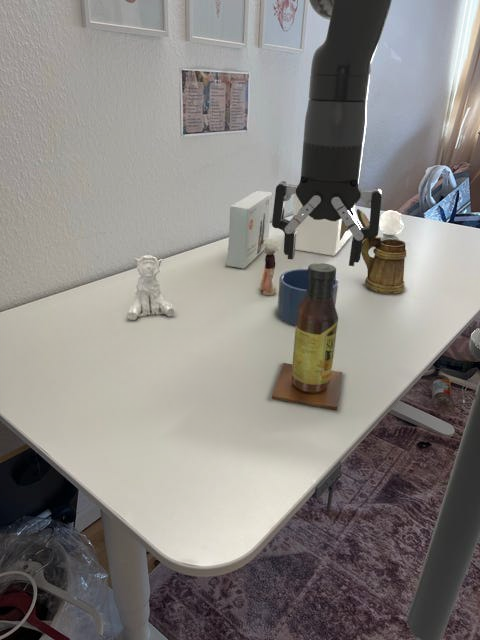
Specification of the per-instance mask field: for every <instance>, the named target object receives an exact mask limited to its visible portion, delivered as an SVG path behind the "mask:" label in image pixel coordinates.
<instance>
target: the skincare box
mask: <svg viewBox="0 0 480 640" xmlns="http://www.w3.org/2000/svg"><path fill="white" fill-rule="evenodd" d="M272 205H273V192H269V191H263V190H255V191H254V192H252V193H250V194H248V195H246V196H244V197H243V198H242V199H240V200H238V201H237V202H235V203H233V204H232V205H230V208H229V226H228V247H227V261H226V266H227V267H233V268H239V269H246V267H247V266H248V265H250V264H251V263H252V262H253V261H254V260H255V259H256V258H257V257H258V256H259V255H260V254H261V253H262V252H263V251H264V248H265V241H266V240H267V239H270V238H269V236H270V226H271V216H272Z"/></svg>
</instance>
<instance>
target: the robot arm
mask: <svg viewBox="0 0 480 640" xmlns="http://www.w3.org/2000/svg"><path fill="white" fill-rule="evenodd" d="M308 1H309V4H310V6H311V7H312V9H313V11H314V12H315V13H317V15H318V16H319V17H321V18H323V19H325V20H328V21H329V24H328V29H327V34H326V37H325V40H324V41H323V43H322V44H321V45H319V46H318V48H316V50H315V51H314V52H313V56H312V61H311V66H310V75H309V76H310V77H309V87H308V88H309V90H308V100H307V107H306V108H307V109H306V113H305V116H304V117H305V119H304V128H303V129H304V130H303V140H302V141H303V143H302V153H301V154H302V155H301V168H300V180H299V183H298V184H299V185H298V184H290V183H287V182H286V181H285V180H282V181H280V182H279V183H278V184H277V186H276V187H275V191H274V192H275V193H274V202H273V208H272V209H273V210H272V218H271V219H272V220H271V226H272V227H273V228H274V229H279V230H281V231H282V232H283V233H284V237H283V238H284V239H283V254H284V255H285V256H287V260H294V258H295V255H296V250H295V245H296V232H297V231H295V229H296V228H297V227H298V226H299V225H300V224H301V223H302V222H303V221H304V219H305V218H306V217H307V216H308V215H309V216H310V217H312V218H313V219H314V220H321V219H327V220H329V221H337V220H340V219H342V220H343V222H344V223H345V225H346V226H347V228H349V230H350V231H351V233H352V235H351V236H352V239H351V246H350V252H349V260H348V266H349V267H355V263H356V264H357V263H359V262H360V261H361V256H362V254H361V249H362V243H363V241H364V239H366V238H369V237H372V238H374V237H378V235H379V230H380V226H379V220H380V217H381V207H382V197H383V196H382V190H381V188H379V187H375V188H373V189H361V188H360V183H359V182H360V175H361V168H362V160H363V151H364V144H365V139H366V134H367V133H366V130H367V129H366V128H367V117H368V116H367V115H368V113H367V106H368V105H367V104H368V101H367V100H368V95H369V86H370V80H371V72H372V62H373V59H374V56H375V53H376V51H377V48H378V46H379V43H380V40H381V37H382V34H383V31H384V28H385V25H386V21H387V19H388V15H389V13H390V9H391V5H392V2H393V0H308ZM294 194H296V195H297V197H298V199H299V201H300V202H301V204H302V205H303V206H302V207H301V209H300V210H299V211H298V212H297V213H296V214H295V216H294V217H293V216H292V217H291V219H290V220H289V219H287V218H285V212H286V206H287V205H286V204H287V201H290V199H292V196H293V195H294ZM359 200H362V201H364V205H365V207H366V208H368V209H370V212H369V213H370V214H369V222H370V225H369V226H366V227H362V225H361V224H360V222H359V219H358V215H357V214H356V212H355V213H354V211H353V210H352V207H353V206H354V205H355V204H357V203H358V202H359ZM355 206H356V205H355Z"/></svg>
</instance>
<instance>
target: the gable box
mask: <svg viewBox="0 0 480 640" xmlns="http://www.w3.org/2000/svg"><path fill="white" fill-rule="evenodd" d="M297 185H299V183H298V184H297ZM356 204H357V203H356ZM356 204H355V205H354V206H353V207H352V210H353V211H354V213H355V214H356ZM302 206H303V205H302V204H301V202H300V201H299V199H298V197H297V195H296V194H293V209H292V218H293V217H294V216H295V214H296V213H297V212H298V211H299V210H300V209H301V207H302ZM295 231H297V232H296V245H295V251H301V252H307V253H308V252H309V253H313V254H320V255H324V256H325V255H326V256H331V257H332V256H333V257H335V256H336V255H337V254H338V252H339V251H340V250H341V249H342V248H343V246H344V245H345V244H346V242H347V241H348V240H349V239H350V238H351V236H353V235H352V233H351V231H350V230H349V228H347V226H346V225H345V223H344V222H343V220H342V219H340V220H337V221H329V220H327V219H321V220H314V219H313V218H312V217H310V216H309V215H308V216H307V217H306V218H305V219H304V221H303V222H302V223H301V224H300V225H299V226H298V227H297V228H296V229H295Z"/></svg>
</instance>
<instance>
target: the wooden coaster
mask: <svg viewBox="0 0 480 640" xmlns="http://www.w3.org/2000/svg"><path fill="white" fill-rule="evenodd" d="M342 374H343V372H342V371H338V370H332V372H331V378H330V382H329V385H328V387H327V388H326V389H325V390H323V391H321V392H318V393H310V392H304V391H301V390H299V389H297V388H296V387H295V386H294V384H293V383H292V363H287V362H283V363H282V366H281V369H280V371H279V374H278V377H277V380H276V382H275V386H274V389H273V391H272V395H271V399H272V400H276V401H283V402H287V403H288V402H289V403H293V404H298V405H299V404H300V405H306V406H311V407H316V408H317V407H318V408H321V409H328V410H334V411H337V410H338V403H339V397H340V389H341V381H342V376H343V375H342Z"/></svg>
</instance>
